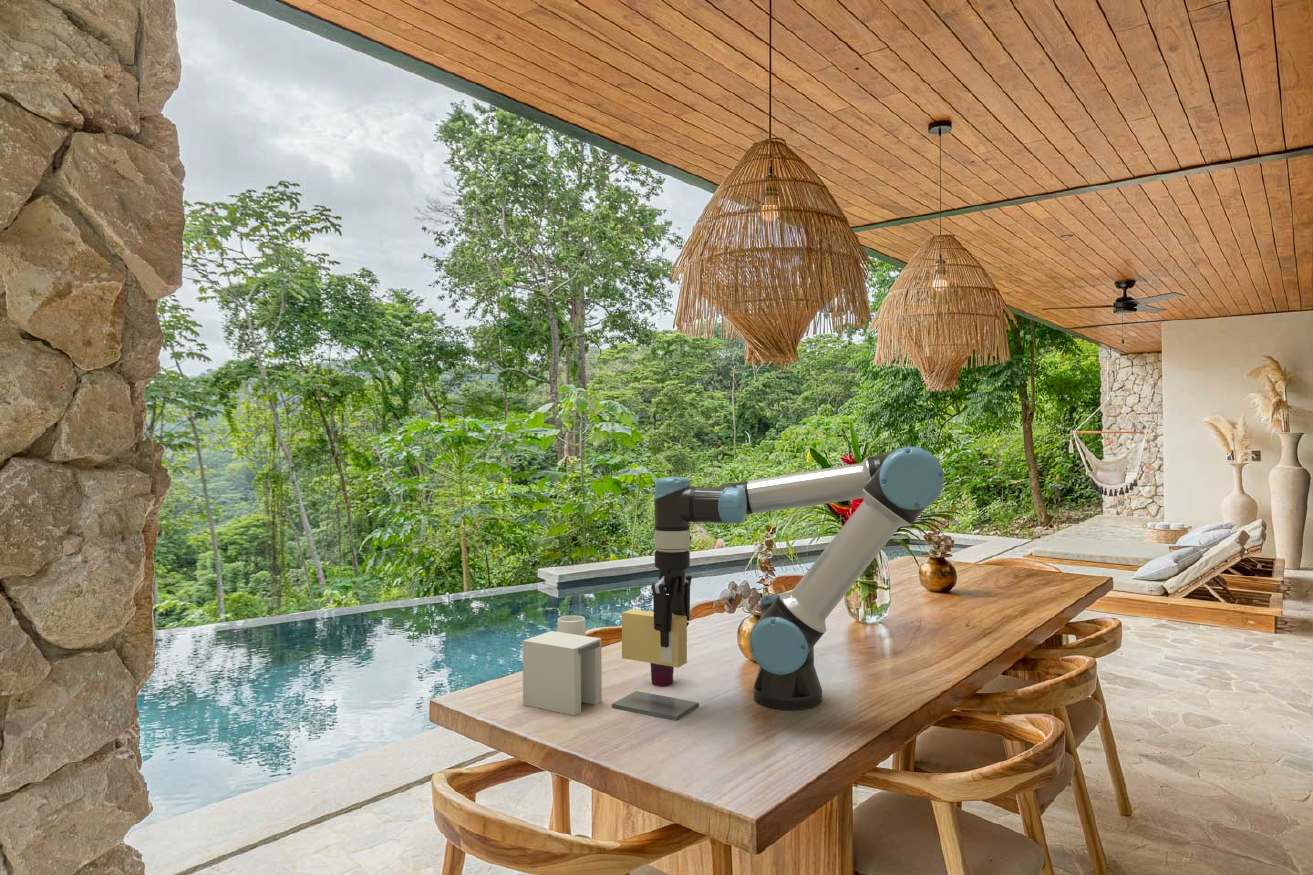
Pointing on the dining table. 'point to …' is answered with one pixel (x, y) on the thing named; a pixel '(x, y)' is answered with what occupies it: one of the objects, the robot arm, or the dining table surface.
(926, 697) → the dining table surface
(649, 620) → the yellow rectangular block
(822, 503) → the robot arm
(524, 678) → the box
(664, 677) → the cup
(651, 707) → the slate pad
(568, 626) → the drinking glass
